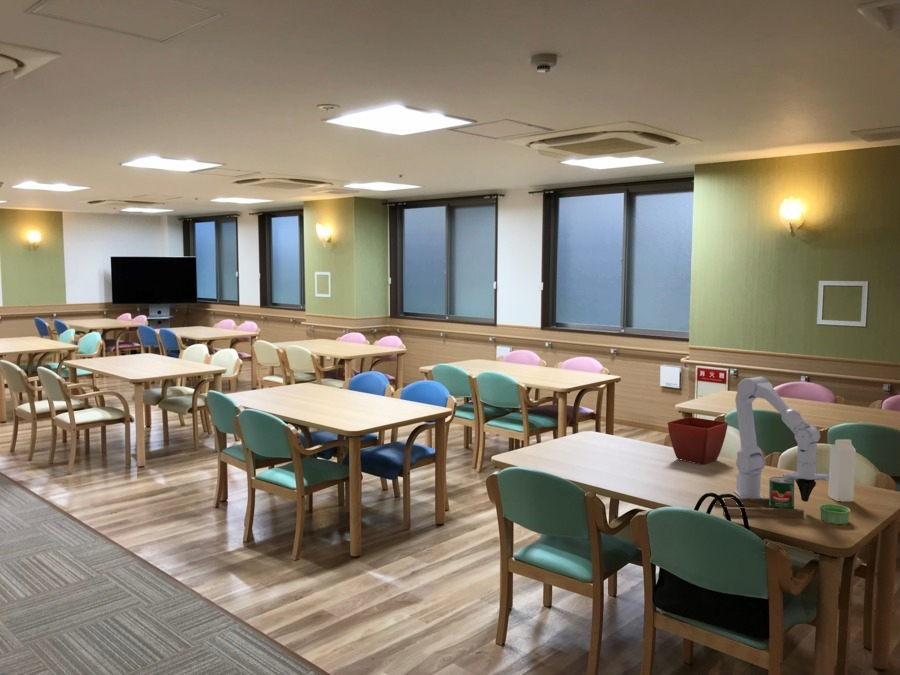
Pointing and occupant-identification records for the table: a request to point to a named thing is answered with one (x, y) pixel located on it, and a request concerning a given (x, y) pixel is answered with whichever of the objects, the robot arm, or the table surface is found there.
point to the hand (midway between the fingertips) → (804, 500)
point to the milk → (842, 470)
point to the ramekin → (835, 513)
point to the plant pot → (697, 439)
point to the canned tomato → (781, 493)
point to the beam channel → (759, 511)
